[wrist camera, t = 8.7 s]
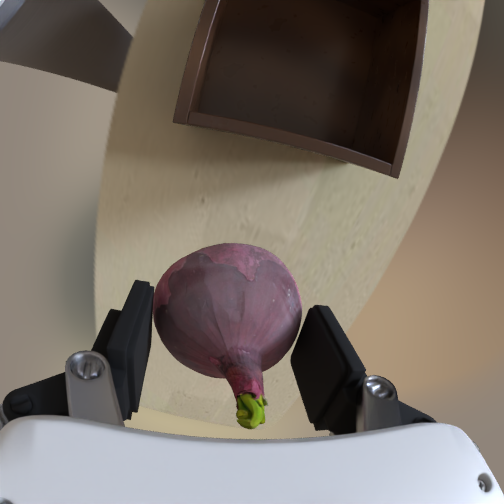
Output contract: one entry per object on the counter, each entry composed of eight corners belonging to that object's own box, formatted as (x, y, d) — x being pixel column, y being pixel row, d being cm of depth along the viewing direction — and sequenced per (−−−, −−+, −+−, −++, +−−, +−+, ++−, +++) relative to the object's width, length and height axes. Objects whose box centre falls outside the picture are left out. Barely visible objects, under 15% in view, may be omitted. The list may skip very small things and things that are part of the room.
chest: (351, 163, 25) (398, 179, 18) (185, 125, 22) (172, 122, 15) (381, 18, 19) (429, -5, 12) (229, -31, 17) (236, -78, 9)
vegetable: (297, 288, 17) (370, 433, 8) (204, 333, 17) (209, 488, 8) (249, 194, 15) (314, 311, 5) (145, 252, 15) (82, 407, 6)
